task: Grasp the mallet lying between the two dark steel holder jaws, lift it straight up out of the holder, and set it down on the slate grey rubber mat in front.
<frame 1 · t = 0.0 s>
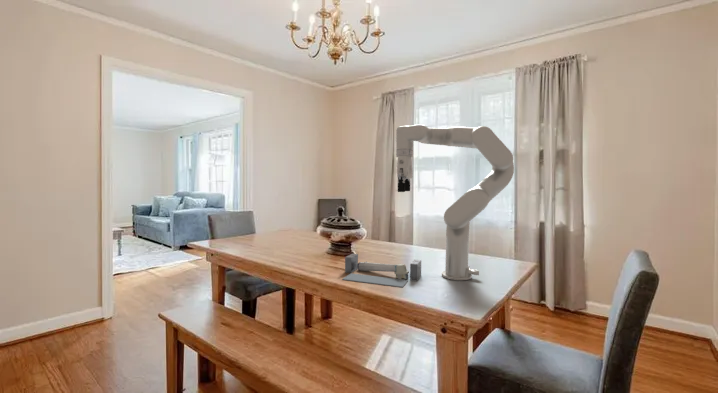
hand: (404, 191, 155), 37 cm above the table, tool pointing down, fingers open, 9 cm apart
rubber mat: (375, 280, 142), on the table
steel holder: (382, 274, 151), on the table
mallet: (382, 275, 152), on the table
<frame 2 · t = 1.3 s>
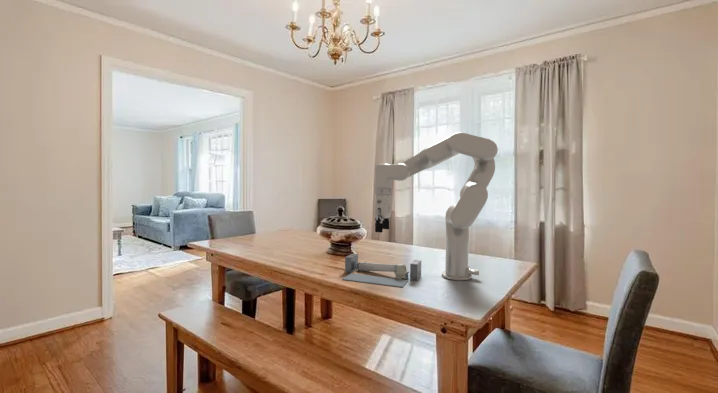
hand: (382, 230, 150), 20 cm above the table, tool pointing down, fingers open, 9 cm apart
nothing on the table moved.
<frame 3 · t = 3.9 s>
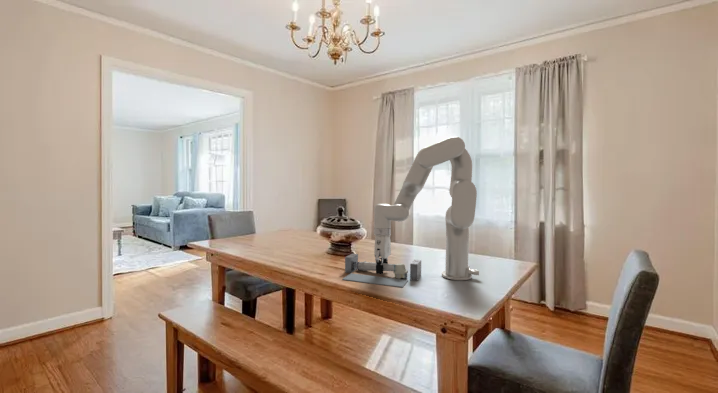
hand: (381, 271, 151), 1 cm above the table, tool pointing down, fingers closed on mallet, 5 cm apart
mallet: (381, 274, 152), on the table, touching gripper
when the fingers open (2 cm above the table, at t = 10.8 s): mallet stays where it is, resting on rubber mat.
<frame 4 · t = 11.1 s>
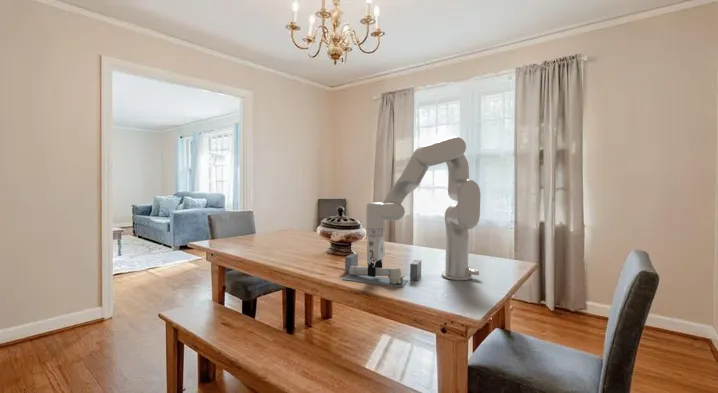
hand: (375, 273, 142), 3 cm above the table, tool pointing down, fingers open, 8 cm apart
mallet: (375, 279, 142), resting on rubber mat
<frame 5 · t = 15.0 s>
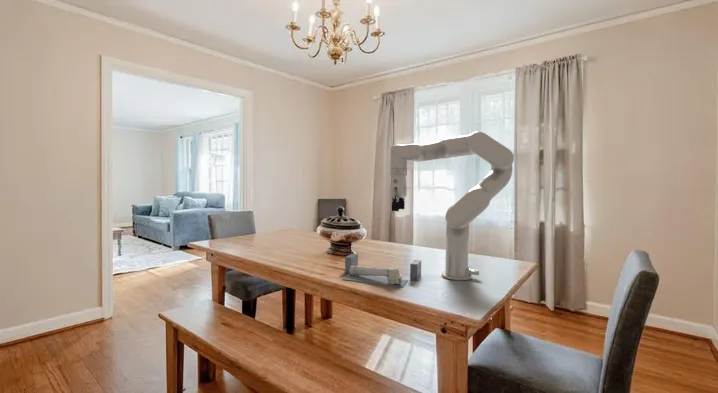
hand: (398, 210, 154), 28 cm above the table, tool pointing down, fingers open, 9 cm apart
at the end: mallet inside the target area (0.3 cm from its centre), on the table; mallet touching rubber mat; the gripper is holding nothing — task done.
